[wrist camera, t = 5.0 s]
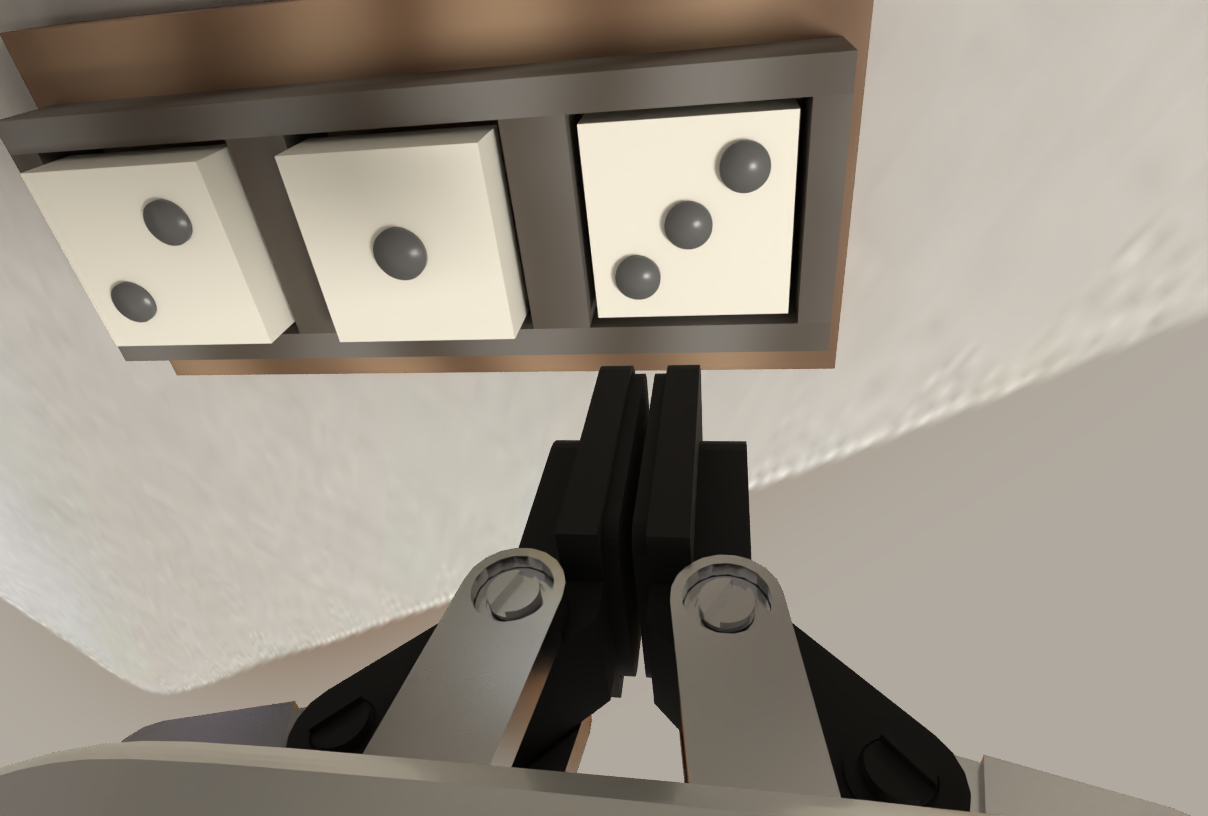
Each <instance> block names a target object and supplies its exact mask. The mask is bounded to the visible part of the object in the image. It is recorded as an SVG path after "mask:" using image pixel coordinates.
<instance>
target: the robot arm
mask: <svg viewBox="0 0 1208 816" xmlns="http://www.w3.org/2000/svg"><path fill="white" fill-rule="evenodd" d="M750 541H751V540H750V516H749V491H748V467H747V445H746V442H745V441H703V440H702V402H701V368H700V365H668V366H667V373H666V374H655V377H654V383H653V390H652V397H651V403H650V410H649V400H648V388H647V377H646V374H635V370H634V366H601V367H600V370H599V374H598V377H597V381H596V384H595V388H594V392H593V395H592V399H591V403H590V406H589V410H588V414H587V417H586V421H585V424H584V428H583V432H582V435H581V439H580V440H556V441H555V442H554V443H553V445H552V447H551V450H550V453H549V456H548V459H547V462H546V465H545V468H544V471H543V474H542V478H541V481H540V484H539V487H538V490H537V493H536V496H535V499H534V502H533V505H532V508H531V511H530V514H529V517H528V521H527V524H526V527H525V530H524V533H523V536H522V539H521V542H520V545H519V548H514V549H509V550H504V551H500V552H498V553H496V554H493V555H491V556H489V557H487V558H485V559H484V560H482V561H481V562H480V563H478V564H477V565H476V566H474V567H473V569H472V570H471V571H470V572H469V574H468V575H467V576H466V577H465V579H464V580H463V582H462V584H461V585H460V587H459V589H458V591H457V592H456V594H455V596H454V598H453V599H452V601H451V603H450V604H449V606H448V608H447V610H446V611H445V613H444V615H443V616H442V618H441V620H440V622H439V623H438V624H436V625H435V626H433V627H431V628H430V629H428V630H426V631H425V632H423V633H422V634H420V635H418V636H417V637H415V638H413V639H412V640H410V641H408V642H407V643H405V644H403V645H402V646H400V647H398V648H397V649H395V650H393V651H392V652H390V653H388V654H387V655H385V656H384V657H382V658H380V659H378V660H377V661H375V662H374V663H372V664H370V665H369V666H367V667H365V668H364V669H362V670H360V671H359V672H357V673H355V674H354V675H352V676H351V677H349V678H347V679H345V680H344V681H342V682H341V683H339V684H337V685H336V686H334V687H332V688H330V689H329V690H327V691H326V692H325V693H323V694H322V695H321V696H319V697H318V698H317V699H315V700H314V701H313V702H311V703H310V704H309V705H308V707H305V708H299V707H298V705H297V704H296V702H295V701H292V702H286V703H279V704H272V705H266V706H259V707H253V708H246V709H239V710H233V711H227V712H220V713H213V714H206V715H201V716H193V717H186V718H180V719H174V720H167V721H162V722H158V723H155V724H152V725H149V726H146V727H143V728H142V729H140V730H138V731H137V732H135V733H133V734H132V735H130V736H129V737H127V738H125V739H124V740H123V741H122V742H121V743H108V744H100V745H93V746H87V747H81V748H75V749H70V750H64V751H59V752H53V753H50V754H46V755H43V756H39V757H36V758H32V759H29V760H26V761H22V762H19V763H15V764H12V765H9V766H5V767H2V768H0V816H1190V815H1188V814H1185V813H1183V812H1181V811H1178V810H1176V809H1174V808H1171V807H1167V806H1163V805H1160V804H1157V803H1153V802H1149V801H1145V800H1142V799H1139V798H1135V797H1132V796H1128V795H1125V794H1121V793H1118V792H1114V791H1110V790H1107V789H1103V788H1100V787H1096V786H1093V785H1089V784H1085V783H1082V782H1079V781H1075V780H1071V779H1068V778H1065V777H1061V776H1058V775H1054V774H1050V773H1047V772H1043V771H1040V770H1036V769H1033V768H1029V767H1026V766H1022V765H1019V764H1015V763H1011V762H1008V761H1004V760H1001V759H997V758H994V757H990V756H987V755H983V758H982V761H981V763H980V762H977V761H973V760H970V759H966V758H963V757H959V756H956V755H954V754H953V753H952V752H951V751H950V750H949V749H948V748H947V747H946V746H945V745H944V744H943V743H942V742H941V741H940V740H939V739H938V738H937V737H936V736H935V735H934V734H933V733H931V732H930V731H929V730H927V729H926V728H925V727H924V726H922V725H921V724H920V723H919V722H917V721H916V720H915V719H914V718H912V717H911V716H910V715H908V714H907V713H906V712H905V711H903V710H902V709H901V708H900V707H898V706H897V705H896V704H894V703H893V702H892V701H891V700H889V699H888V698H887V697H886V696H884V695H883V694H882V693H881V692H879V691H878V690H877V689H875V688H874V687H873V686H872V685H870V684H869V683H868V682H867V681H865V680H864V679H863V678H861V677H860V676H859V675H858V674H856V673H855V672H854V671H853V670H851V669H850V668H849V667H847V666H846V665H845V664H844V663H842V662H841V661H840V660H839V659H837V658H836V657H835V656H833V655H832V654H831V653H830V652H828V651H827V650H826V649H825V648H823V647H822V646H821V645H819V644H818V643H817V642H816V641H814V640H813V639H812V638H811V637H809V636H808V635H807V634H806V633H804V632H803V631H802V630H801V629H799V628H798V627H797V626H795V625H794V624H793V623H792V621H791V618H790V614H789V610H788V607H787V603H786V600H785V596H784V593H783V591H782V588H781V586H780V584H779V582H778V580H777V579H776V578H775V577H774V576H773V575H772V574H771V573H770V572H769V571H768V570H767V569H766V568H765V567H763V566H762V565H759V564H758V563H756V562H754V561H753V560H751V542H750ZM641 637H642V646H643V655H644V663H645V673H646V677H650V678H652V684H653V694H654V703H655V705H656V706H658V708H659V709H660V710H661V711H662V712H663V713H664V714H665V715H666V716H667V717H668V718H669V719H670V721H671V722H672V723H673V724H674V725H675V726H676V727H677V728H678V729H679V734H680V746H681V756H682V765H683V774H684V783H678V782H668V781H657V780H646V779H635V778H624V777H614V776H602V775H591V774H581V773H577V771H578V768H579V765H580V762H581V759H582V755H583V753H584V750H585V746H586V743H587V740H588V737H589V734H590V729H591V723H592V716H591V714H593V713H594V712H595V711H597V710H598V709H599V708H601V707H602V706H603V705H605V704H606V703H607V702H609V701H610V699H611V697H619V698H621V694H622V687H623V679H624V676H636V673H637V667H638V658H639V649H640V641H641Z"/></svg>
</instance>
